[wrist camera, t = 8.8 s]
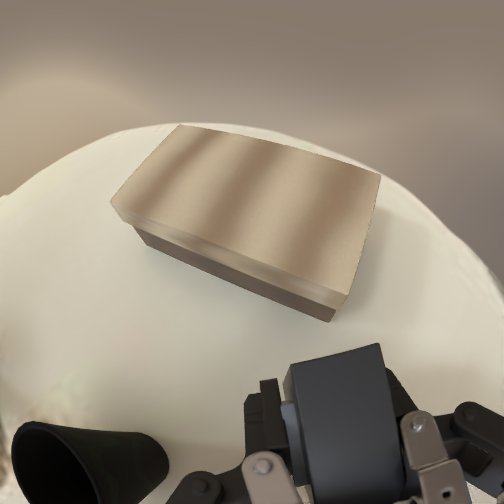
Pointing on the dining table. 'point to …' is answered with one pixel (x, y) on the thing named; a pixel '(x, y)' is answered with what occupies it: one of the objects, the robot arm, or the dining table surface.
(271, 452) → the robot arm
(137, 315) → the dining table surface
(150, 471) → the cup
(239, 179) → the lidded shoe box
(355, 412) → the dark grey rectangular block
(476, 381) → the dining table surface
